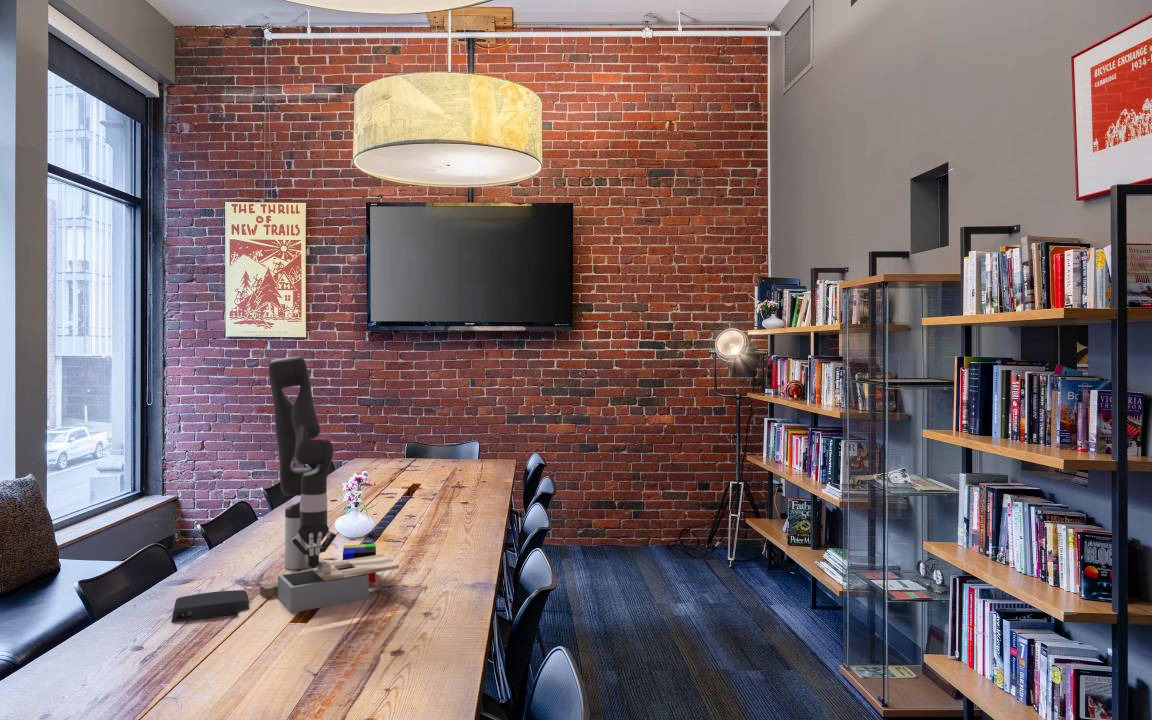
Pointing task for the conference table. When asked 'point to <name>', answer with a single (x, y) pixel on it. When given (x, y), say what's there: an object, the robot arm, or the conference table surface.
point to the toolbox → (319, 590)
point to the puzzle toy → (360, 554)
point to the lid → (354, 567)
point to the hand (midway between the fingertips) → (313, 567)
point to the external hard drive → (209, 605)
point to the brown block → (269, 590)
